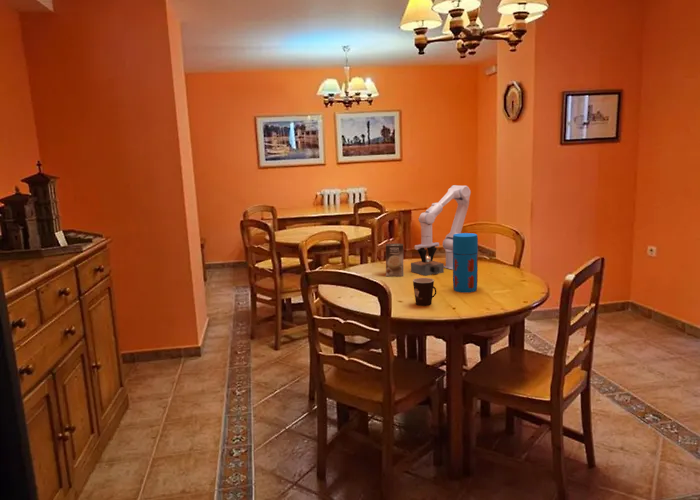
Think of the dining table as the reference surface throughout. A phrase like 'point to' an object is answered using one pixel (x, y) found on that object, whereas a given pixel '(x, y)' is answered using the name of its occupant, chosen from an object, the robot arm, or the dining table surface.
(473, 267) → the thermos
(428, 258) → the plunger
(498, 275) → the dining table surface
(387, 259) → the coffee box
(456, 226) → the robot arm
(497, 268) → the dining table surface
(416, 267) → the grey flat box
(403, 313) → the dining table surface
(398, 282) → the dining table surface
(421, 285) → the coffee mug
